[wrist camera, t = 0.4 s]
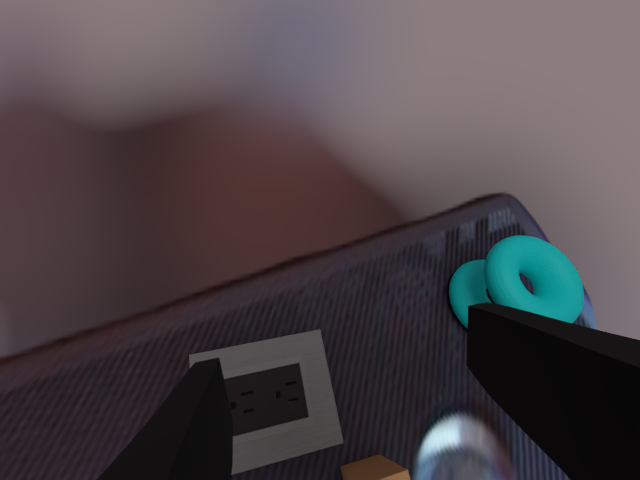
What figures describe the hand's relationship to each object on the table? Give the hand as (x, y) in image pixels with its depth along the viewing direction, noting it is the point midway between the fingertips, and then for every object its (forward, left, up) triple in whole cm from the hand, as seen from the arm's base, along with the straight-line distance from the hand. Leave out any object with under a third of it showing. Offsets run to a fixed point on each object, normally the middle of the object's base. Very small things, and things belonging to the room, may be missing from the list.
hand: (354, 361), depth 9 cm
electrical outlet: (-1, +2, -27) cm, 27 cm away
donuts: (+4, -25, -27) cm, 37 cm away
